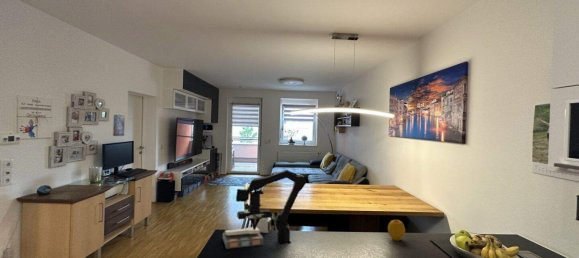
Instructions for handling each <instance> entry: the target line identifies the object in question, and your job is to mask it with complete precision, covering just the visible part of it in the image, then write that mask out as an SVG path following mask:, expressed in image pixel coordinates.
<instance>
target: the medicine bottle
mask: <svg viewBox="0 0 579 258" xmlns="http://www.w3.org/2000/svg"><path fill="white" fill-rule="evenodd" d="M260 212H263V210H260ZM261 217H262V219H260V221H259V222H258V224H257V228H258V229H259V230H260V233H262V234H264V233H265V234H269V232H270V231H271V230H272V217H266V216H265V215H262V216H261Z"/></svg>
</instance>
